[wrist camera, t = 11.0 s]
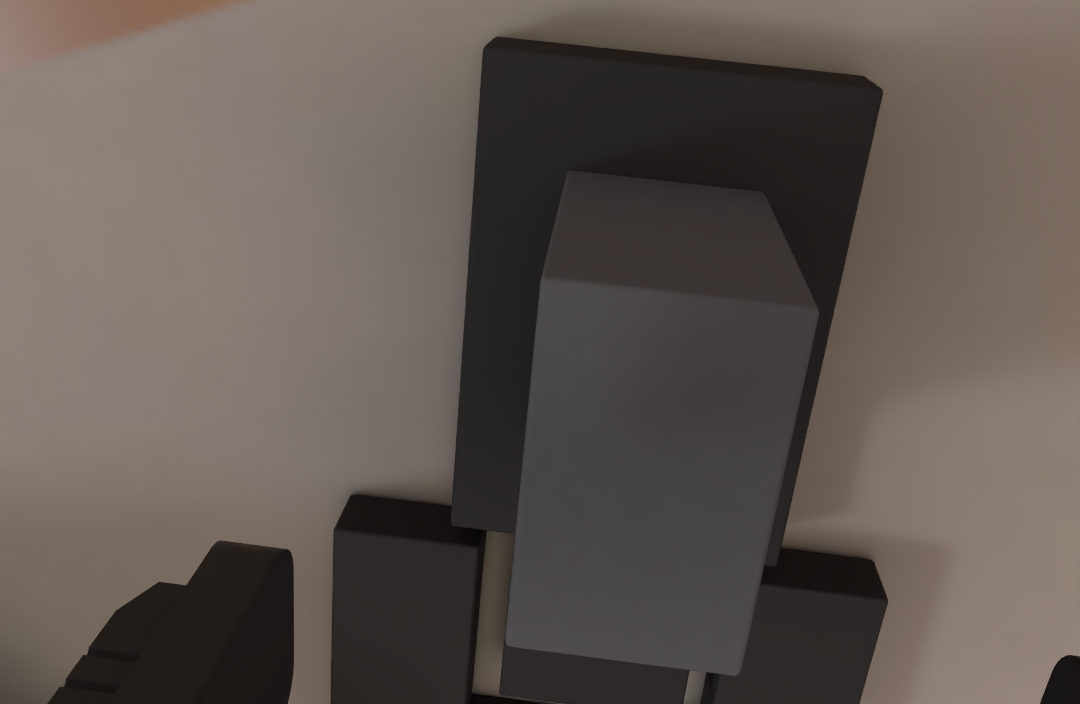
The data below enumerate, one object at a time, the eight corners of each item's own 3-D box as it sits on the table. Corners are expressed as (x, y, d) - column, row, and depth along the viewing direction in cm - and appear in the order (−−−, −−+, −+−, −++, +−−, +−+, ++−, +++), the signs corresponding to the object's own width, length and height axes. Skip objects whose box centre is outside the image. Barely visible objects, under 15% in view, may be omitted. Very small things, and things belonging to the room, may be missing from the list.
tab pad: (493, 35, 19) (416, 105, 12) (867, 75, 19) (999, 168, 12) (449, 645, 25) (380, 922, 18) (735, 682, 25) (775, 978, 18)
